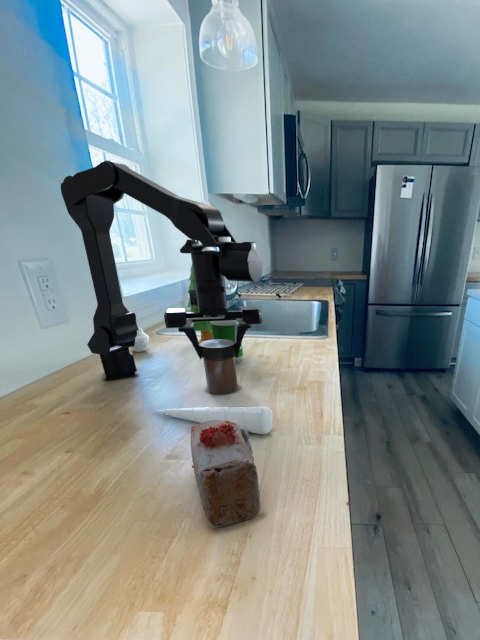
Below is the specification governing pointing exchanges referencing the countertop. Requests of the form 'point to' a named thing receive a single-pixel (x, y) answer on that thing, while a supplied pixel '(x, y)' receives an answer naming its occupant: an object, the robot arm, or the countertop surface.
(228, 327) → the soda can
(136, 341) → the garlic bulb
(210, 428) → the food item
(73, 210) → the robot arm
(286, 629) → the countertop surface
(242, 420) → the unicorn horn
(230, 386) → the coffee jar
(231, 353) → the jar lid
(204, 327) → the decorative tree
